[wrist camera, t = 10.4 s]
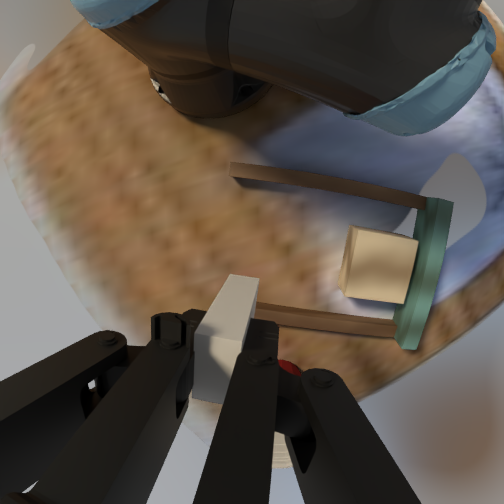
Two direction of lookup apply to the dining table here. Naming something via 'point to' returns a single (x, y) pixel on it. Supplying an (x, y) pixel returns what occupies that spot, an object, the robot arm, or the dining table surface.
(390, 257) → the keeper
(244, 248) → the dining table surface
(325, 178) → the guide track
